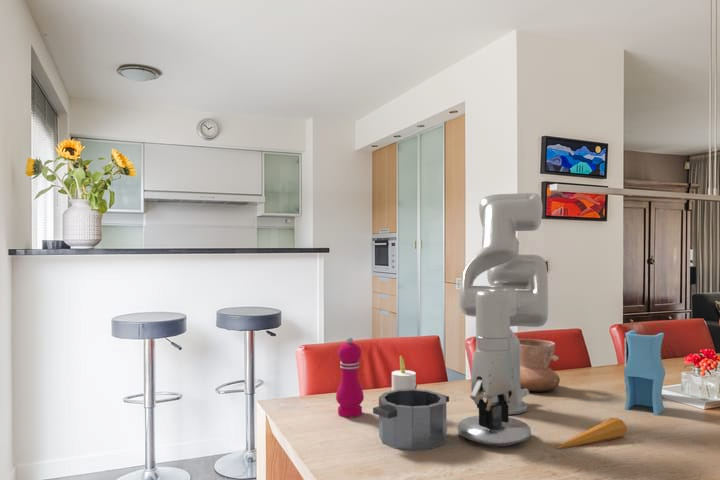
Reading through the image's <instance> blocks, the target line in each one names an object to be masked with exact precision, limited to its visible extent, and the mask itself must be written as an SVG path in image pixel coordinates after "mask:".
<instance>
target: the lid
mask: <svg viewBox="0 0 720 480" xmlns="http://www.w3.org/2000/svg"><path fill="white" fill-rule="evenodd" d="M490 410H492V428H490V429H489V428H486V427H482V426H480V425H479V415H474V416H469V417H466V418H463V419H461V420H460V421H459V422H458V424H457V431H458V434H459V435H461V436H462V437H463V438H466V439H467V440H470V441H473V442H476V443H480V444H482V445H486V446H494V447H505V446H511V445H517V444H519V443H523V442H525V441H527V440H529V439H530V438H531V435H532V433H531V432H532V430H531V427H530V426H529V425H528V424H527V423H526V422H524V421H521V420H520V419H517V418H513V417H509V421H508V422H507V423H505V422H502V406H501V404H499V403H494V402H491V406H490Z"/></svg>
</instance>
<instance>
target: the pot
mask: <svg viewBox="0 0 720 480" xmlns="http://www.w3.org/2000/svg"><path fill="white" fill-rule="evenodd" d="M449 402H450V396H449V395H445V394H442V393H439V392H436V391H432V390H426V389H417V388H416V389H403V390H394V391H392V390H390V391H386V392H383V393H382V394H381V395H379V396H378V406H375V407H372V413H373V414H374V415H377V416H378V437H379V439H380V440H381V442H382V444H384V445H387V446H389V447H392V448H394V449H399V450H407V451H421V450H422V451H425V450H432V449H435V448H437V447H441V446H443V445H444V444H445V442H446V441H447V438H448V437H447V435H448V434H447V433H448V431H447V427H448V425H447V403H449Z"/></svg>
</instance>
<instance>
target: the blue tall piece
mask: <svg viewBox="0 0 720 480" xmlns="http://www.w3.org/2000/svg"><path fill="white" fill-rule="evenodd" d="M664 336H665V332H660V333H657V334H654V335H647V334H637V332H636V330H635V329H632V330H629V331H627V332H625V337H626V338H627V343H628V349H629V355H628V361H627V364H626V367H625V366H624V369H623V370H624V371H623V377H624V382H625V381H626V386H627V396H626V401H625V406H624V410H629V409H631V408H632V407H634V406H635V405H636V406H638V405H639V406H644V407H645V406H646V407H650V408H652V409H653V415H654V416H659V415H660V414H661V413H662V412H664V410H665V407H664V402H663V385H664V381H665V376H666V369H665V367H664V364H663V360H662V345H663V344H662V342H663V340H664Z"/></svg>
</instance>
